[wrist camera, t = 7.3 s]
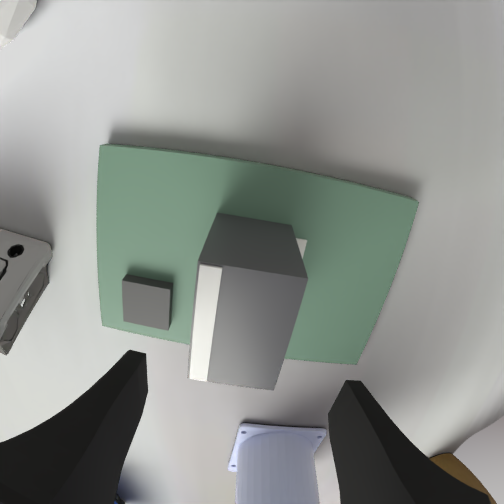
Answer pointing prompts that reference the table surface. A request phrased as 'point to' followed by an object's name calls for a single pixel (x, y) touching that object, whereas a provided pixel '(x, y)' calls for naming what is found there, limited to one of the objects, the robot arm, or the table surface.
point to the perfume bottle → (13, 18)
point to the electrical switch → (20, 282)
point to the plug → (245, 302)
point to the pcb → (251, 206)
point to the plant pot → (459, 472)
